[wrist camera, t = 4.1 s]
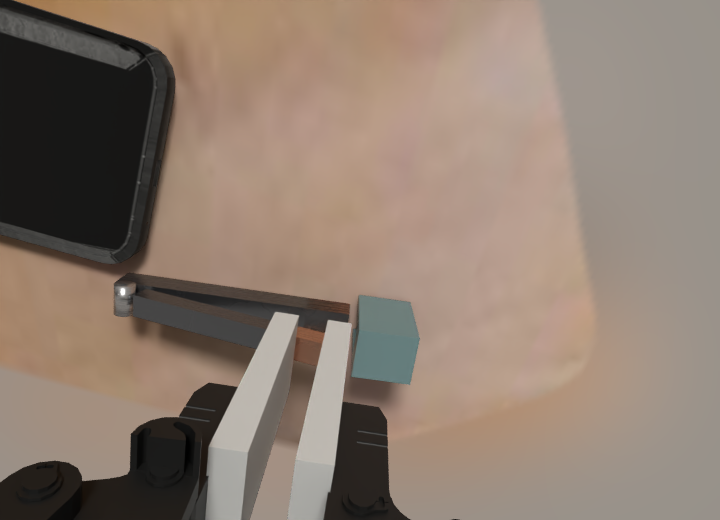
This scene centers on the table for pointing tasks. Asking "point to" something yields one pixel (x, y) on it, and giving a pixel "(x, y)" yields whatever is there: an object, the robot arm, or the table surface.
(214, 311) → the bar
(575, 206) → the table surface
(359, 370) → the teal matte cube
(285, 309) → the arm
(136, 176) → the phone
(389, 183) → the table surface
